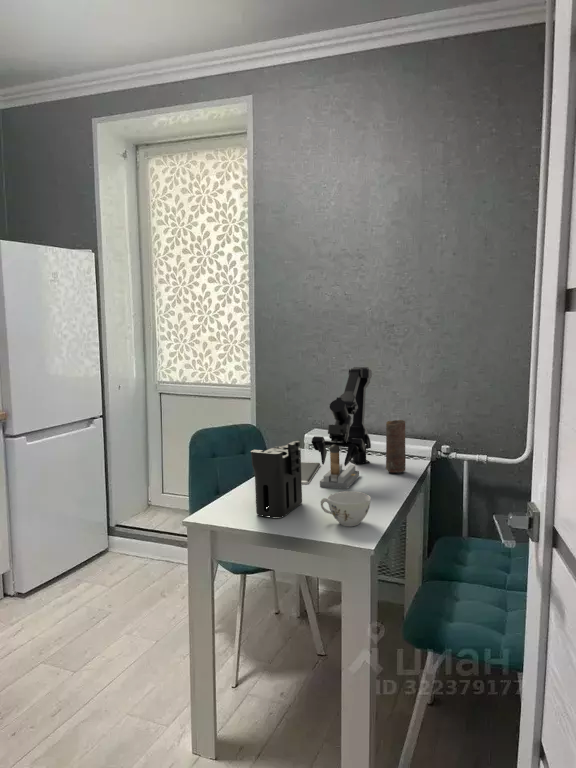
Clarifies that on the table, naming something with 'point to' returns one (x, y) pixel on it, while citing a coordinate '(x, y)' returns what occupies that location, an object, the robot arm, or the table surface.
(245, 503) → the table surface
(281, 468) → the black machined bracket
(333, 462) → the lever
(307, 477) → the smartphone
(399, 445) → the candle
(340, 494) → the teacup
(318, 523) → the table surface
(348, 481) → the slider console
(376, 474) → the table surface
